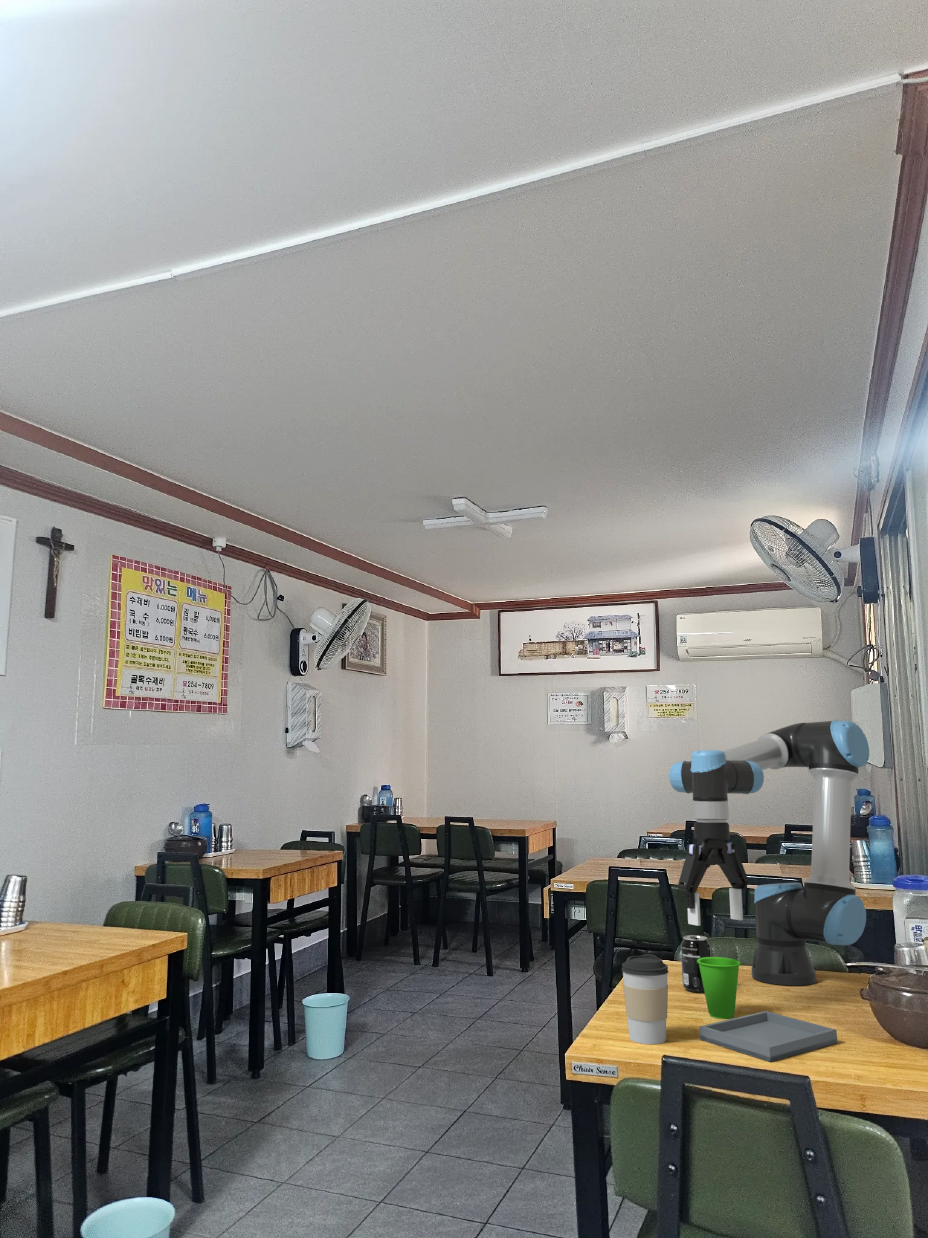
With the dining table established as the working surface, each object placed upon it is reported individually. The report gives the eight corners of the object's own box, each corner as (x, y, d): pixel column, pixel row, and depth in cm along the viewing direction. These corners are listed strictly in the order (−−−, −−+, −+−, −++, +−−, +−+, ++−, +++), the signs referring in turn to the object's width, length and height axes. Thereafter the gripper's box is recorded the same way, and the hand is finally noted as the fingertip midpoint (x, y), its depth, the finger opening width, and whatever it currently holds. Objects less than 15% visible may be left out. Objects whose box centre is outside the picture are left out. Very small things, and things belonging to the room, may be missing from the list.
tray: (766, 1023, 175) (765, 1011, 176) (837, 1043, 162) (836, 1029, 163) (699, 1039, 164) (699, 1026, 165) (770, 1062, 151) (769, 1047, 152)
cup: (746, 1023, 176) (743, 966, 178) (700, 1020, 178) (698, 964, 180) (741, 1011, 185) (738, 957, 187) (698, 1009, 186) (695, 956, 188)
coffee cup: (662, 1049, 159) (658, 963, 162) (616, 1041, 164) (613, 958, 166) (677, 1037, 166) (674, 955, 169) (633, 1030, 171) (630, 950, 174)
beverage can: (701, 986, 207) (699, 934, 209) (718, 993, 201) (715, 939, 203) (677, 988, 205) (674, 936, 207) (693, 995, 199) (690, 940, 201)
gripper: (734, 819, 198) (739, 915, 194) (658, 821, 185) (662, 924, 181) (761, 820, 192) (767, 919, 188) (685, 823, 179) (689, 929, 175)
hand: (715, 922), depth 184 cm, fingers open, 13 cm apart
